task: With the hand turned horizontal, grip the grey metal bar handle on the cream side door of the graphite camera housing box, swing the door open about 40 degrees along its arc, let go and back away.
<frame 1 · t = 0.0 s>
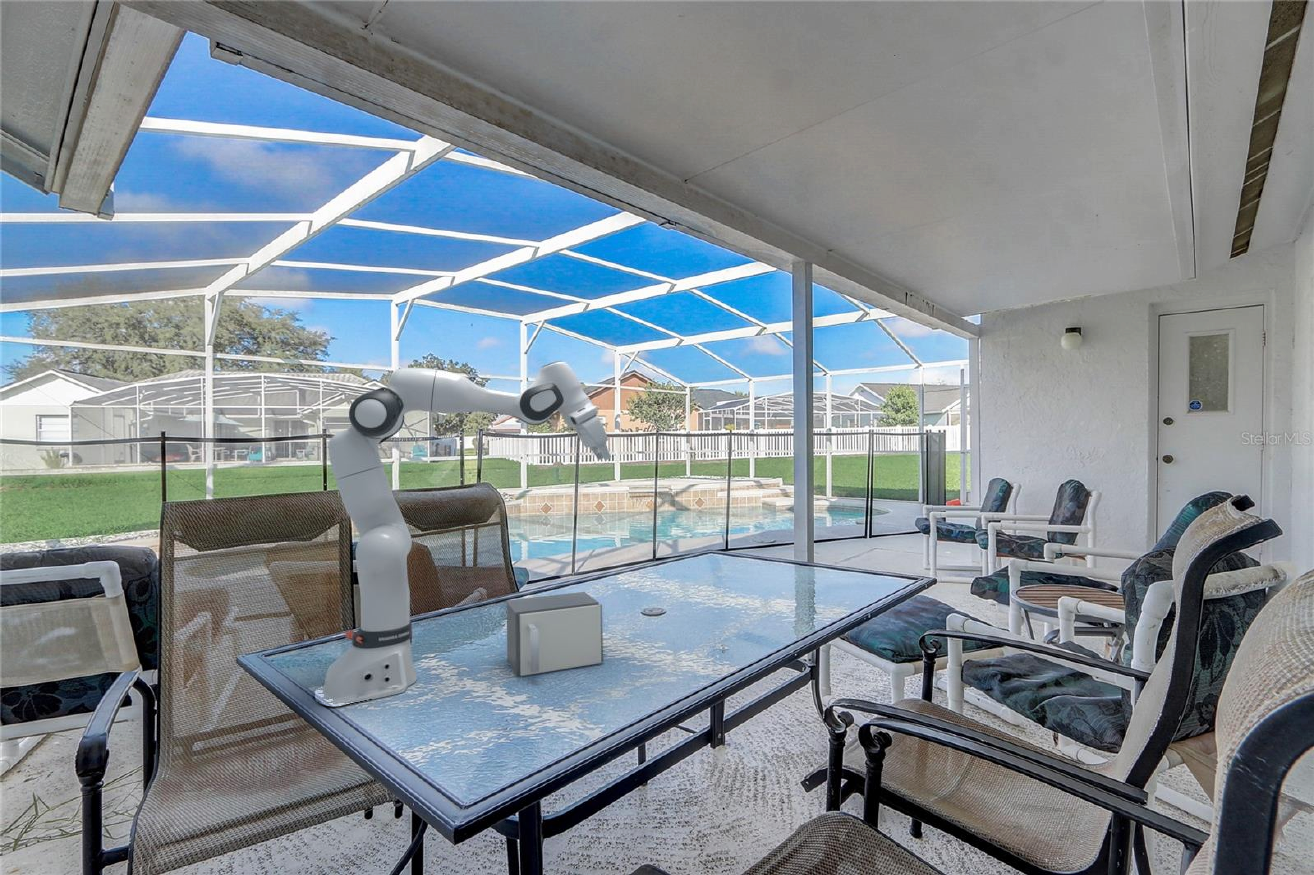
hand: (604, 458, 163), 54 cm above the table, tool tilted 30°, fingers open, 8 cm apart
housing: (552, 661, 159), on the table
door: (565, 642, 149), point 8 cm above the table, hinge at 0.0°
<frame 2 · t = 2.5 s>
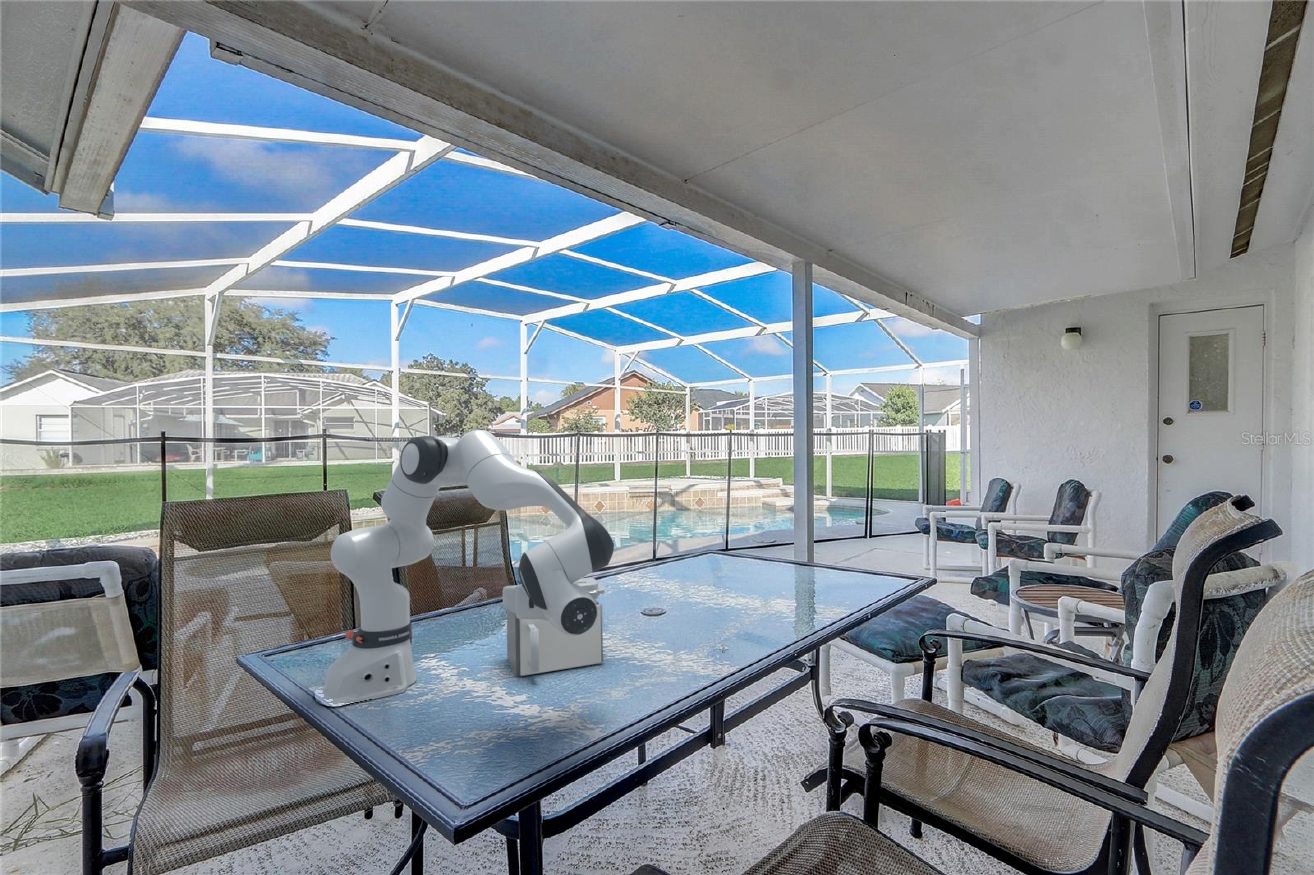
hand: (544, 585, 133), 26 cm above the table, tool horizontal, fingers open, 8 cm apart
nothing on the table moved.
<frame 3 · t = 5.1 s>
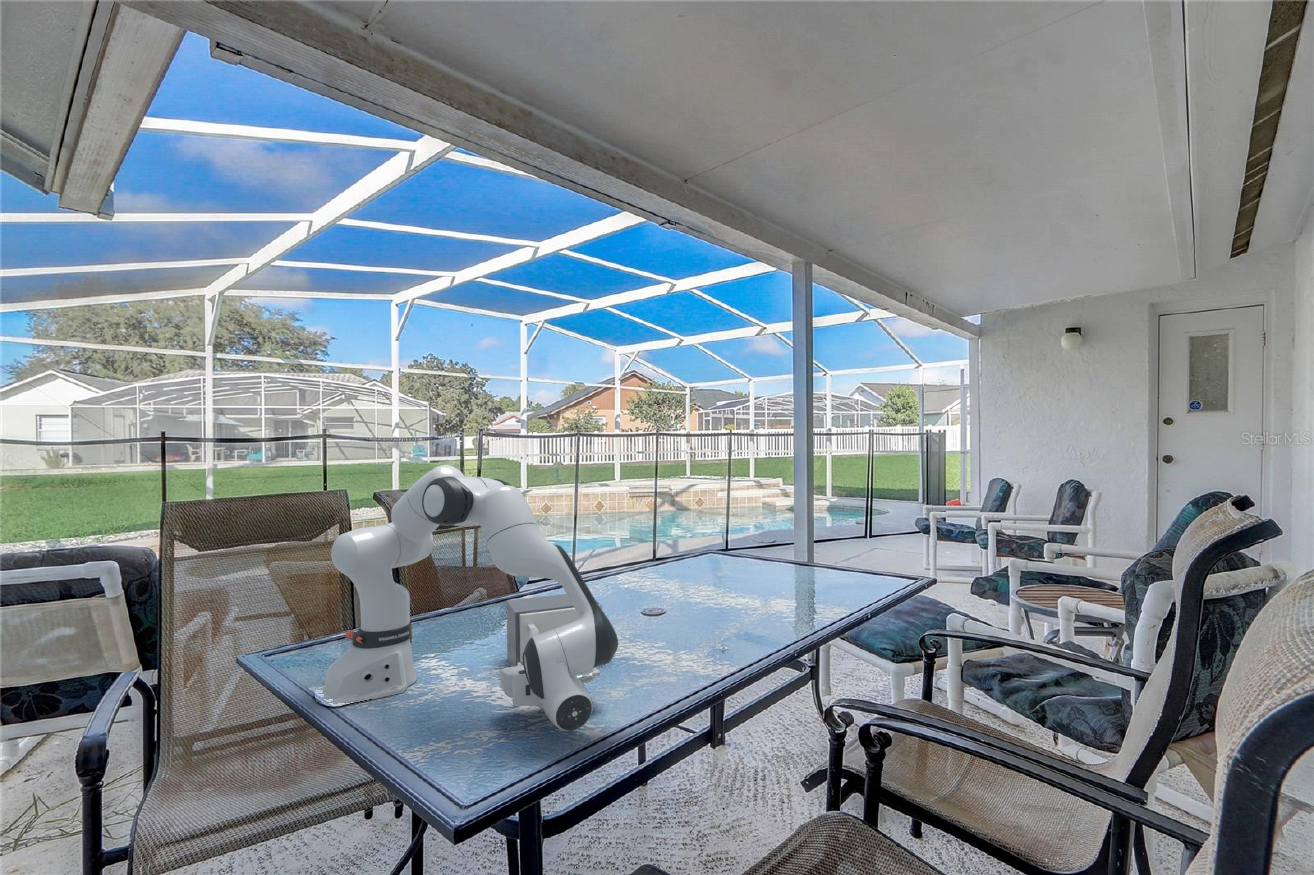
hand: (541, 662, 136), 8 cm above the table, tool horizontal, fingers open, 8 cm apart
nothing on the table moved.
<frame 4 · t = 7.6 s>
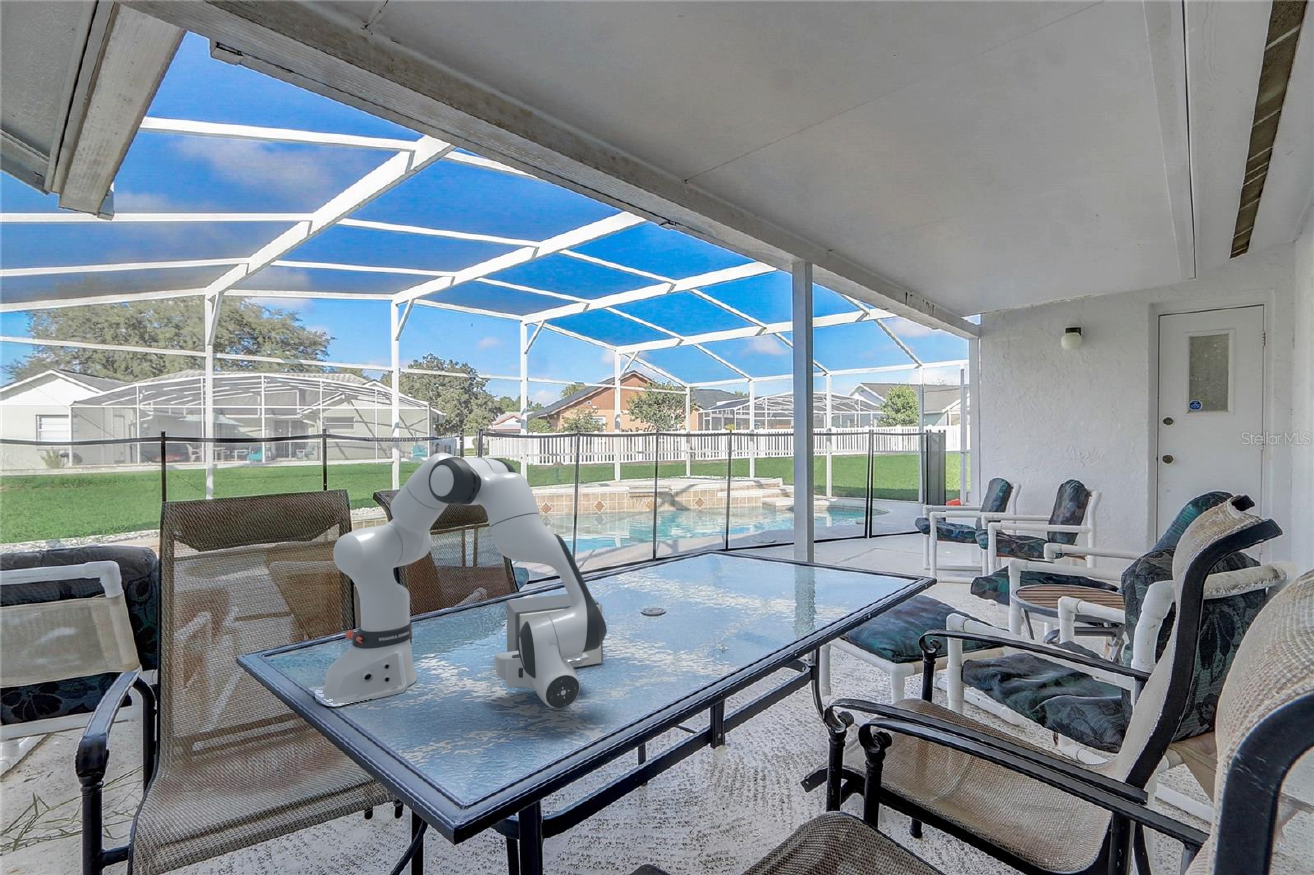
hand: (533, 649, 145), 8 cm above the table, tool horizontal, fingers closed on door, 2 cm apart
door: (565, 642, 149), point 8 cm above the table, hinge at 0.0°, touching gripper
everything else where it was.
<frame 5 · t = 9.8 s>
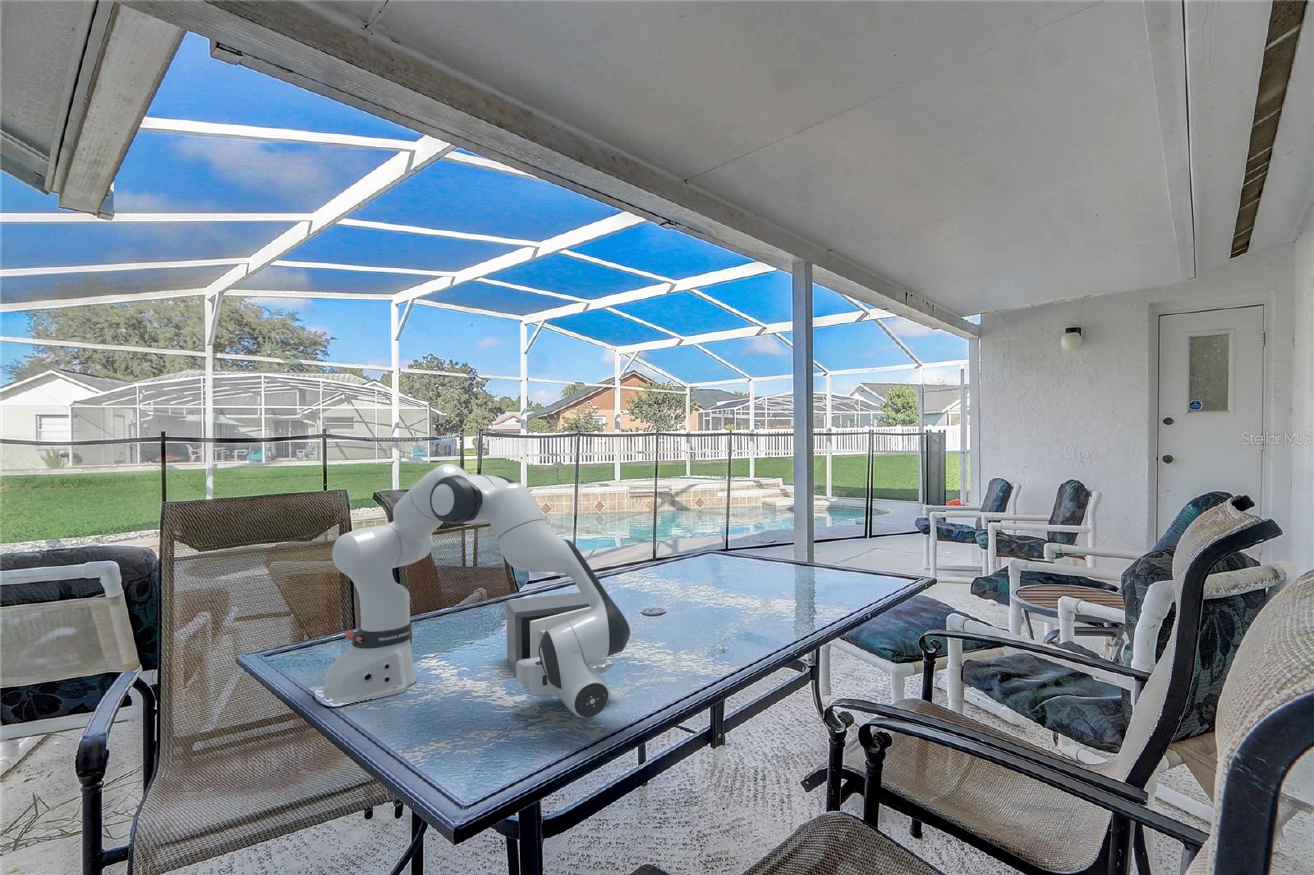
hand: (554, 655, 140), 8 cm above the table, tool horizontal, fingers open, 3 cm apart
door: (575, 645, 147), point 8 cm above the table, hinge at 21.0°, touching gripper
everything else where it was.
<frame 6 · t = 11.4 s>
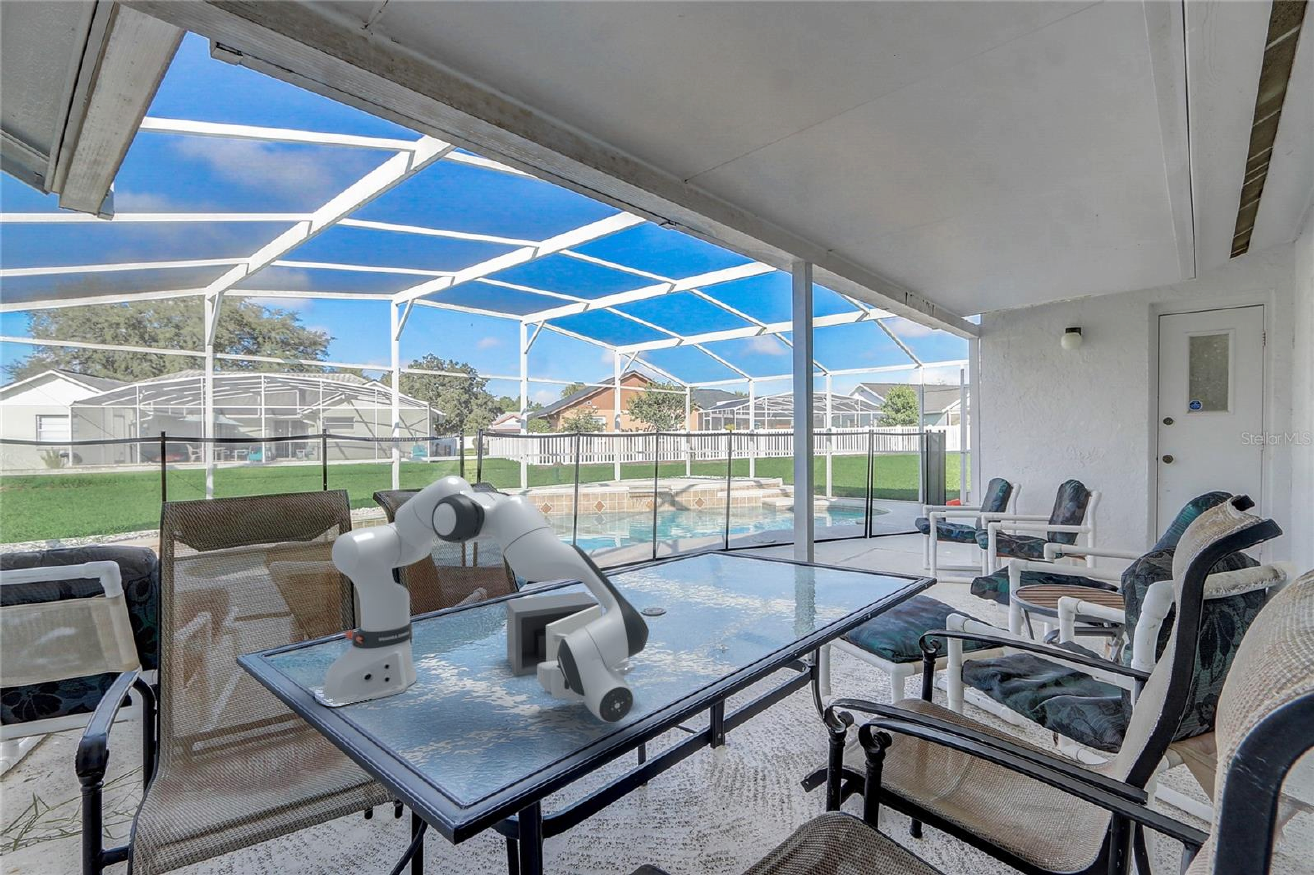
hand: (575, 657, 138), 8 cm above the table, tool horizontal, fingers open, 3 cm apart
door: (586, 646, 146), point 8 cm above the table, hinge at 37.2°, touching gripper
everything else where it was.
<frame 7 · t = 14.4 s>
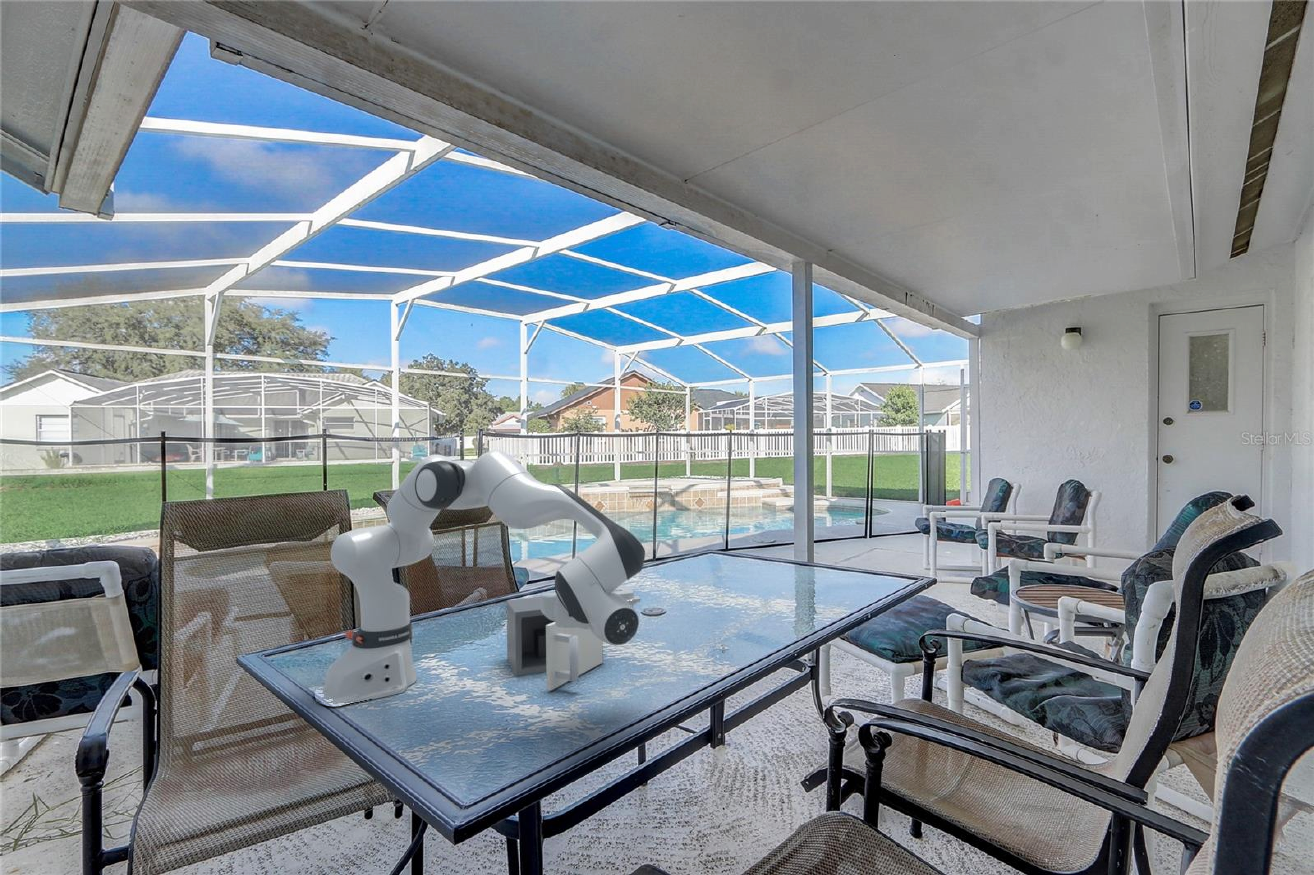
hand: (579, 592, 135), 24 cm above the table, tool horizontal, fingers open, 5 cm apart
door: (586, 646, 146), point 8 cm above the table, hinge at 37.2°
everything else where it was.
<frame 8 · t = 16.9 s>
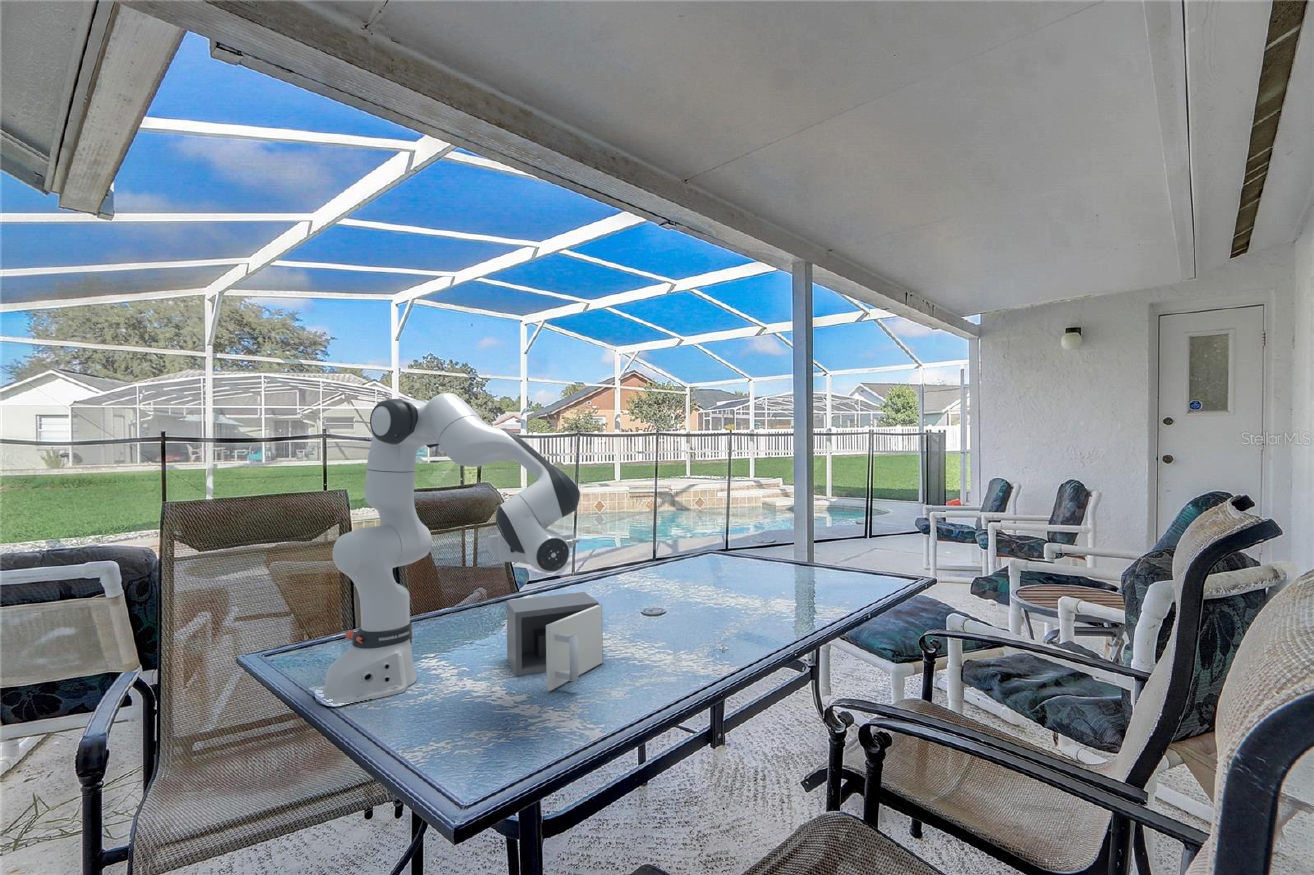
hand: (526, 537, 147), 35 cm above the table, tool horizontal, fingers open, 5 cm apart
nothing on the table moved.
at the end: door at +37° (first picture: +0°); the gripper is holding nothing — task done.
